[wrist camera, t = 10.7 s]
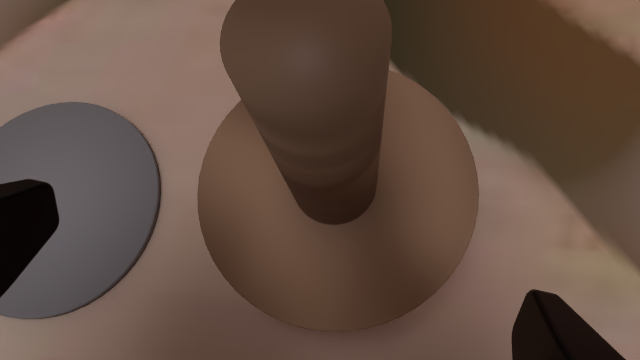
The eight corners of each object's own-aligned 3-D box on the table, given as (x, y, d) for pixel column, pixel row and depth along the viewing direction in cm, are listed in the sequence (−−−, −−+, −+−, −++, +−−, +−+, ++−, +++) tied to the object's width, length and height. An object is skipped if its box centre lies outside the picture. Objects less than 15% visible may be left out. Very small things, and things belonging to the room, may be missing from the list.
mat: (101, 351, 20) (96, 352, 20) (-93, 277, 22) (-101, 276, 22) (194, 134, 23) (191, 131, 23) (16, 85, 25) (11, 81, 25)
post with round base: (319, 397, 15) (251, 511, 6) (155, 180, 18) (-62, 27, 9) (533, 201, 16) (752, 41, 7) (348, 29, 19) (335, -240, 10)
